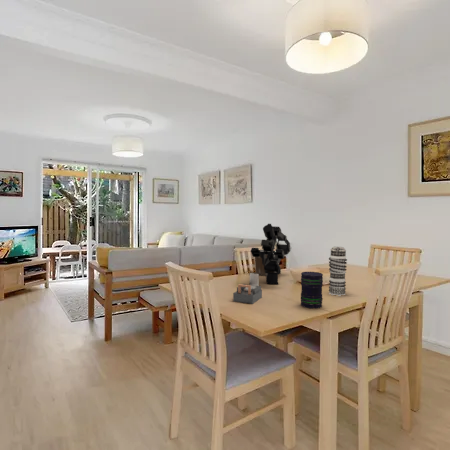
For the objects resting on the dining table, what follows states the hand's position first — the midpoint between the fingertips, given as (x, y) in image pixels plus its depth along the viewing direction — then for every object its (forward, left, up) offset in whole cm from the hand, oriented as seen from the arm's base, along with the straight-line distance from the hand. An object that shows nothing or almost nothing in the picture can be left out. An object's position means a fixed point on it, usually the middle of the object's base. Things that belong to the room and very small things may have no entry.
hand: (263, 265), depth 183 cm
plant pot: (-1, -43, -14) cm, 46 cm away
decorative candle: (-39, +6, -14) cm, 41 cm away
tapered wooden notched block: (+7, +18, -9) cm, 22 cm away
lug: (+10, +26, -10) cm, 30 cm away
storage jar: (-22, +29, -14) cm, 38 cm away
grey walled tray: (+8, +22, -14) cm, 27 cm away
